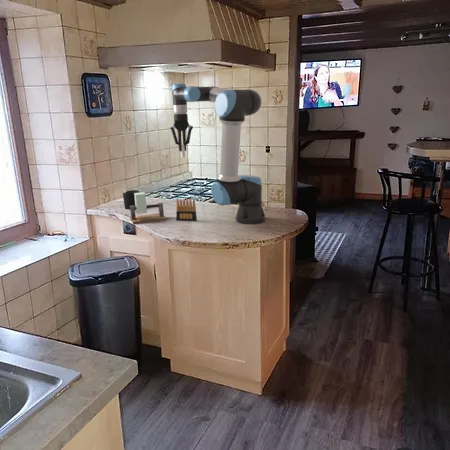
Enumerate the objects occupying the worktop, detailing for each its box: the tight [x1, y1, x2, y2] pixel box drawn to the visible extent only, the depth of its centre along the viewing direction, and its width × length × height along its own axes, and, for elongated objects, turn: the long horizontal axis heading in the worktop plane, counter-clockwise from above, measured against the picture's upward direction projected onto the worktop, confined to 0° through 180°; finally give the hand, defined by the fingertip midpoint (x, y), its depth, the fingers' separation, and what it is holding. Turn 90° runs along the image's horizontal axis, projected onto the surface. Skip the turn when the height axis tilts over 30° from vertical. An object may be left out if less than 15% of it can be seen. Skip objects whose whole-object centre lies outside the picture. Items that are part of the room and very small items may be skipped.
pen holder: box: [122, 189, 140, 211], centre depth 256 cm, size 9×9×10 cm
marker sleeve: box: [134, 191, 148, 214], centre depth 227 cm, size 5×5×10 cm
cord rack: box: [129, 202, 167, 225], centre depth 229 cm, size 12×17×8 cm
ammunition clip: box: [175, 197, 198, 222], centre depth 225 cm, size 11×2×12 cm, turn 77°
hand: (183, 156), depth 241 cm, fingers closed
